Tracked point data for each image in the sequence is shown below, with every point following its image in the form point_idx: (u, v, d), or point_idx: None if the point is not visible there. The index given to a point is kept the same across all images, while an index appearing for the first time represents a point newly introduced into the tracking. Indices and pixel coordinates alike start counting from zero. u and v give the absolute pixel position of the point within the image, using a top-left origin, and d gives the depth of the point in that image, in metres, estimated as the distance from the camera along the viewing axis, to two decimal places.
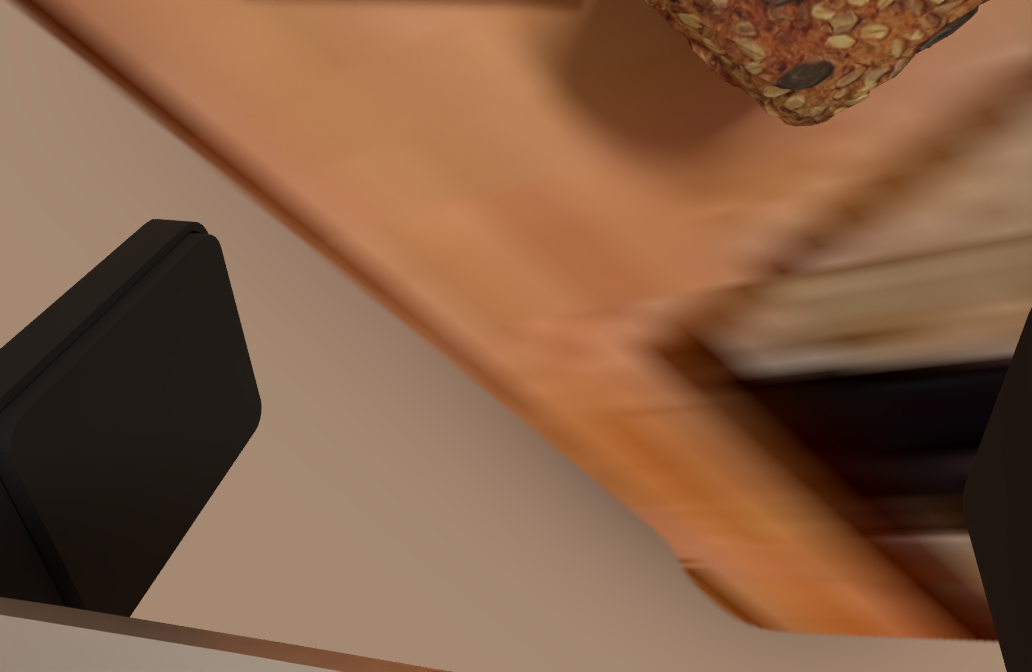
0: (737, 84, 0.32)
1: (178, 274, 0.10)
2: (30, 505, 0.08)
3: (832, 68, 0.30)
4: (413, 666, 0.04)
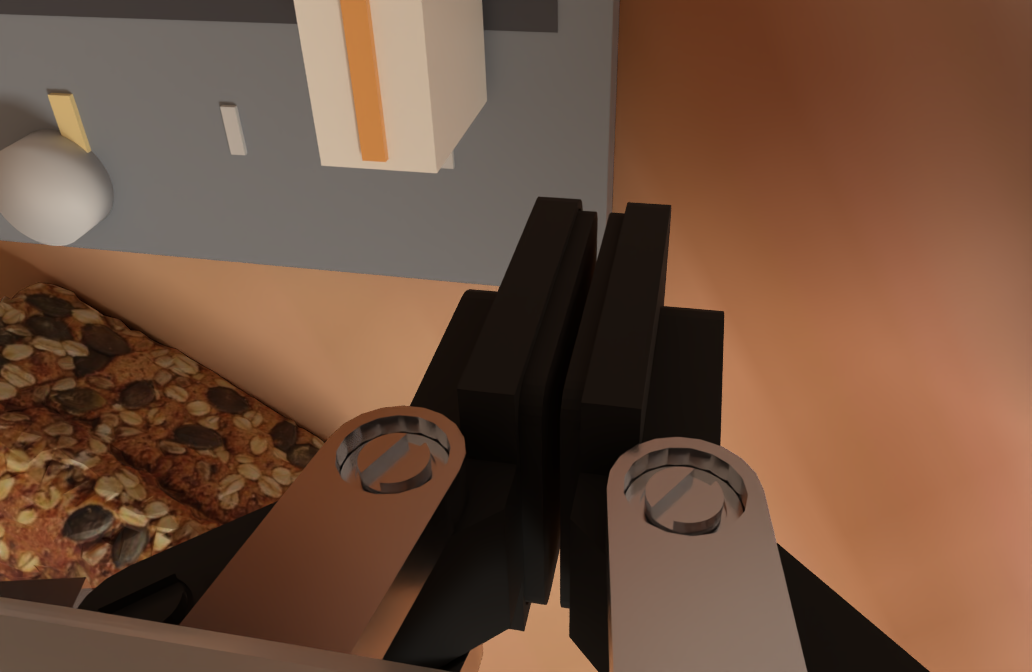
0: None
1: (587, 249, 0.10)
2: (536, 469, 0.08)
3: None
4: (413, 665, 0.04)
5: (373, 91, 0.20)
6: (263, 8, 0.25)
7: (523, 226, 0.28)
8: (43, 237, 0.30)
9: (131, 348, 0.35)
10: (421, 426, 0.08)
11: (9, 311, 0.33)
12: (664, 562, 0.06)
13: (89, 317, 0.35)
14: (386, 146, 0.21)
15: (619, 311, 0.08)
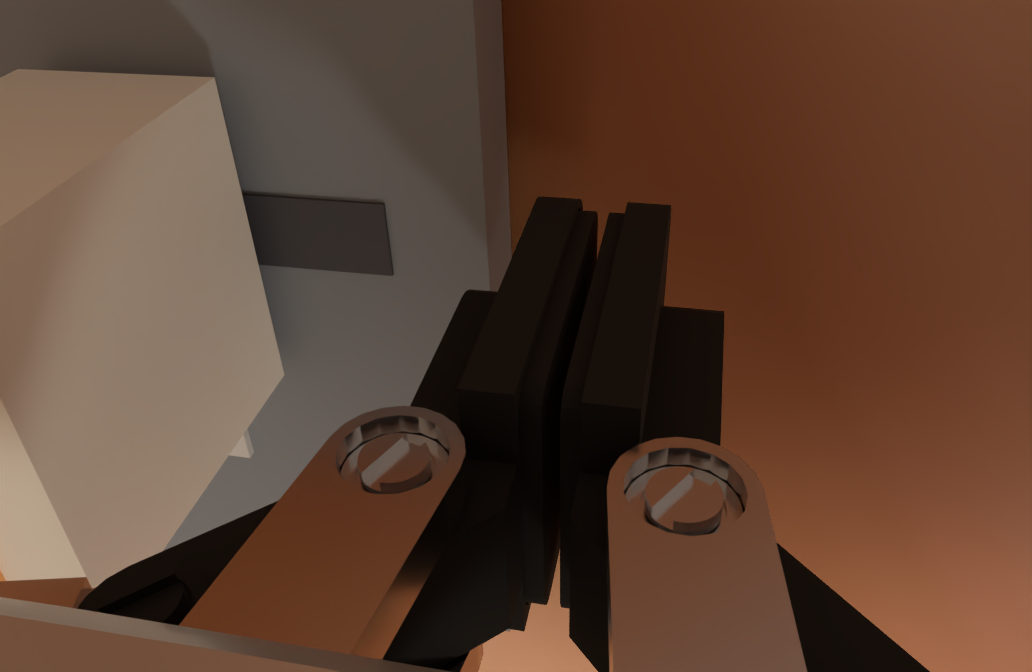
0: None
1: (586, 249, 0.10)
2: (535, 469, 0.08)
3: None
4: (413, 666, 0.04)
5: None
6: None
7: None
8: None
9: None
10: (421, 426, 0.08)
11: None
12: (664, 562, 0.06)
13: None
14: (4, 577, 0.10)
15: (619, 311, 0.08)
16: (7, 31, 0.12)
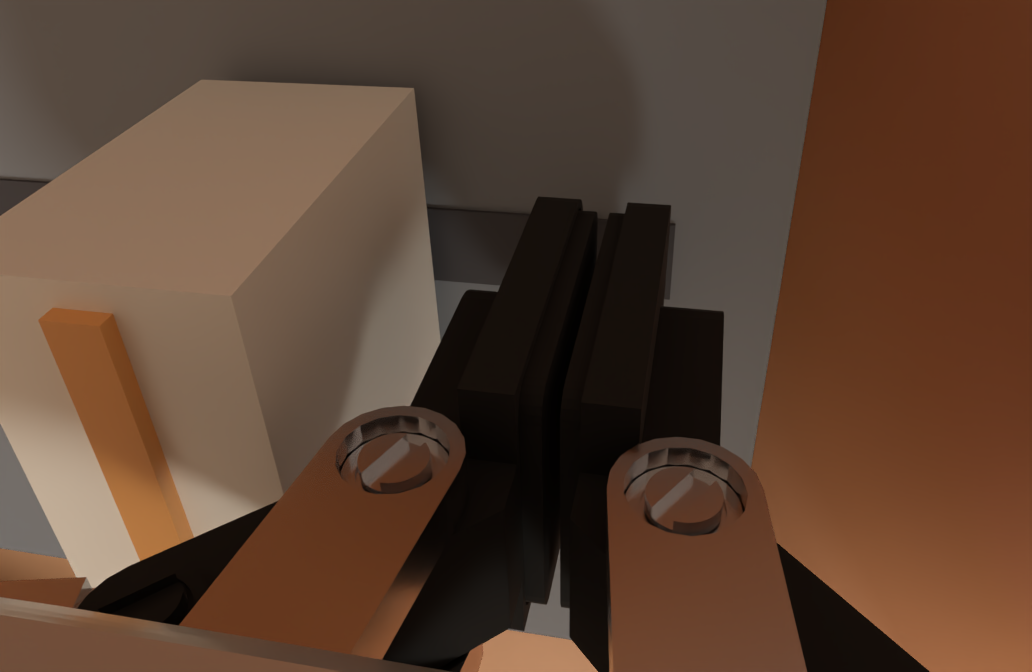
0: None
1: (587, 249, 0.10)
2: (535, 469, 0.08)
3: None
4: (413, 665, 0.04)
5: (173, 534, 0.09)
6: None
7: None
8: None
9: None
10: (421, 426, 0.08)
11: None
12: (663, 562, 0.06)
13: None
14: None
15: (619, 311, 0.08)
16: (284, 43, 0.12)
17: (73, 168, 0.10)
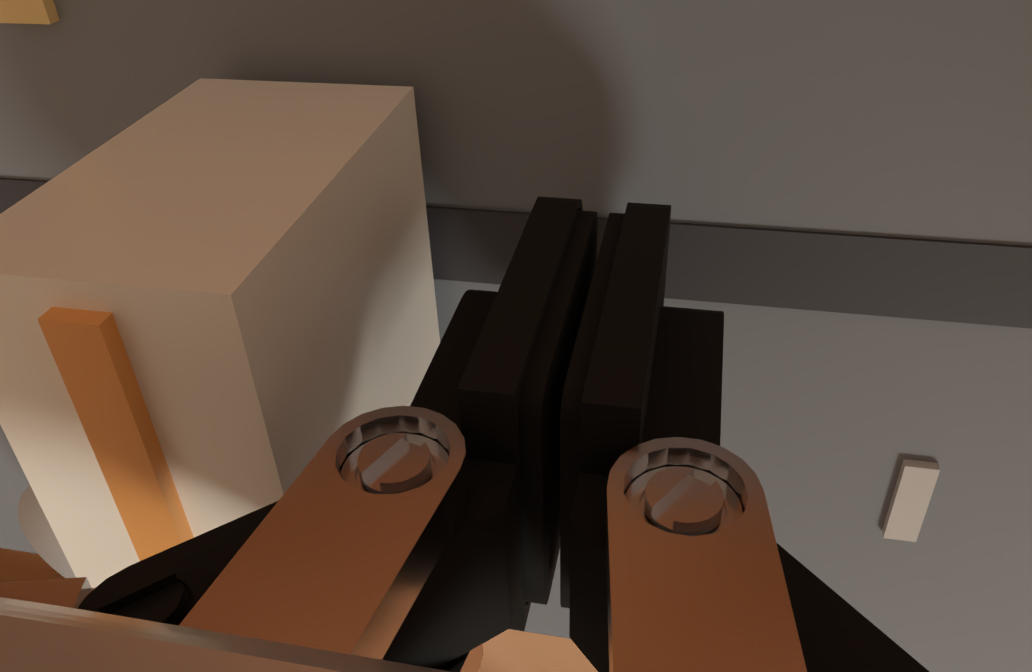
0: None
1: (587, 249, 0.10)
2: (536, 469, 0.08)
3: None
4: (413, 666, 0.04)
5: (173, 534, 0.09)
6: None
7: (1021, 627, 0.15)
8: None
9: None
10: (421, 426, 0.08)
11: None
12: (664, 562, 0.06)
13: None
14: None
15: (619, 311, 0.08)
16: (878, 60, 0.10)
17: (72, 167, 0.09)
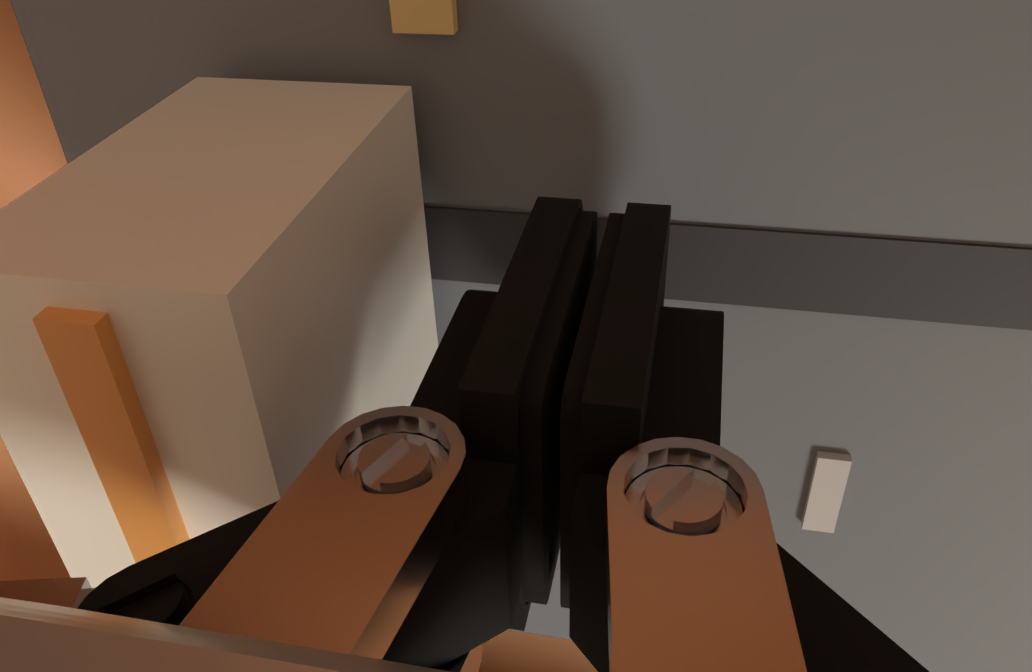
0: None
1: (587, 249, 0.10)
2: (536, 469, 0.08)
3: None
4: (412, 665, 0.04)
5: (168, 535, 0.09)
6: (1021, 303, 0.11)
7: None
8: None
9: None
10: (421, 426, 0.08)
11: None
12: (664, 562, 0.06)
13: None
14: None
15: (619, 311, 0.08)
16: None
17: (68, 166, 0.09)
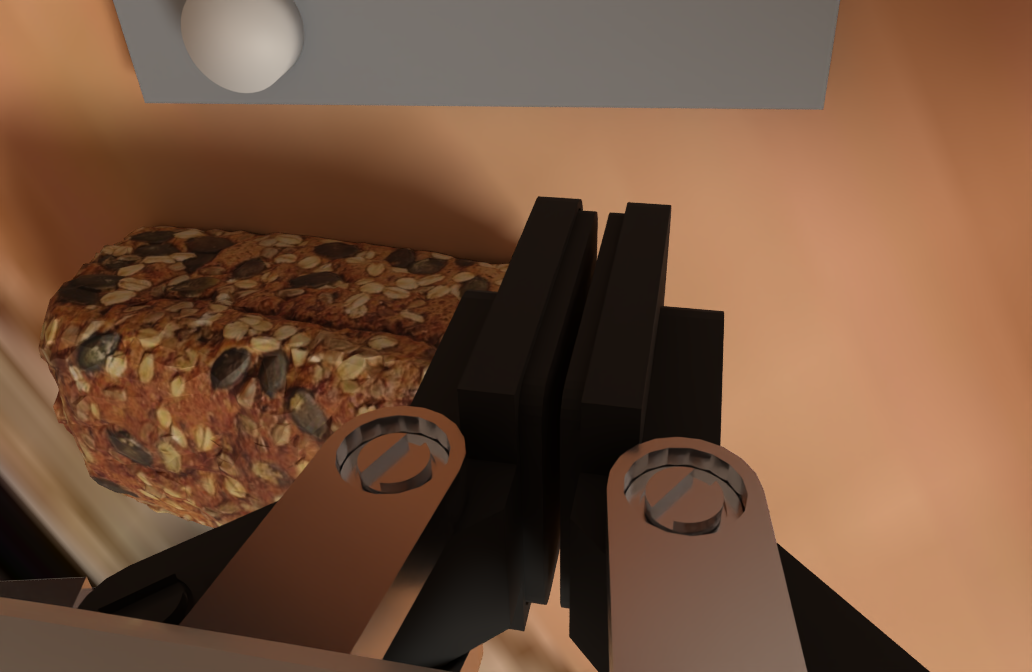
0: None
1: (587, 249, 0.10)
2: (536, 469, 0.08)
3: (137, 496, 0.35)
4: (413, 665, 0.04)
5: None
6: None
7: (746, 37, 0.27)
8: (236, 84, 0.29)
9: (234, 242, 0.36)
10: (421, 426, 0.08)
11: (118, 248, 0.35)
12: (664, 562, 0.06)
13: (190, 234, 0.36)
14: None
15: (619, 311, 0.08)
16: None
17: None
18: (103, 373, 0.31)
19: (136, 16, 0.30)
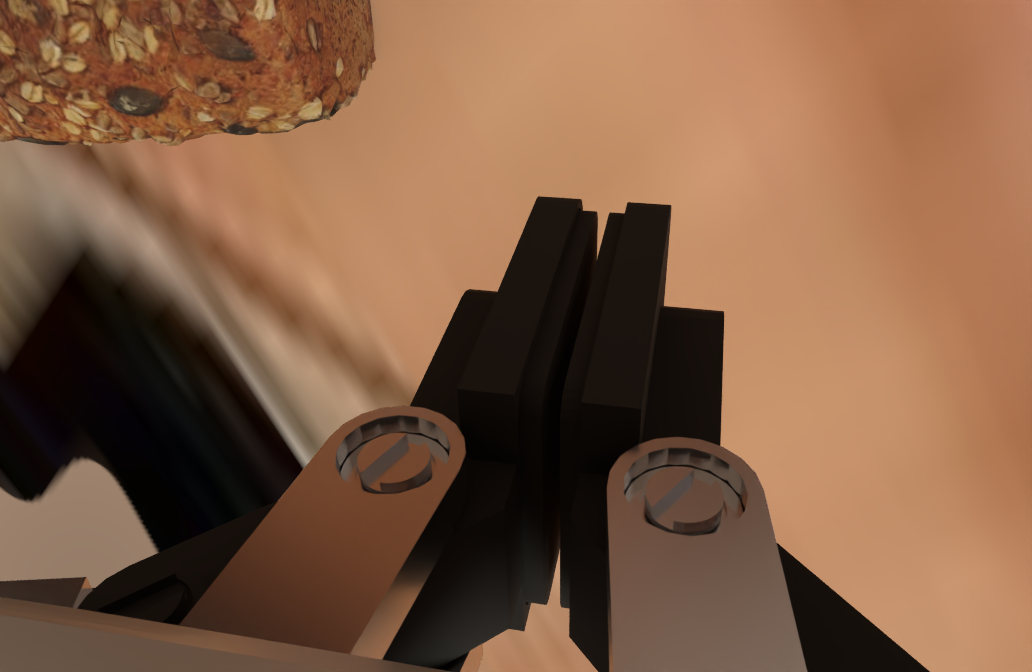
0: None
1: (586, 249, 0.10)
2: (535, 469, 0.08)
3: None
4: (413, 666, 0.04)
5: None
6: None
7: None
8: None
9: None
10: (420, 426, 0.08)
11: None
12: (664, 562, 0.06)
13: None
14: None
15: (619, 311, 0.08)
16: None
17: None
18: None
19: None
